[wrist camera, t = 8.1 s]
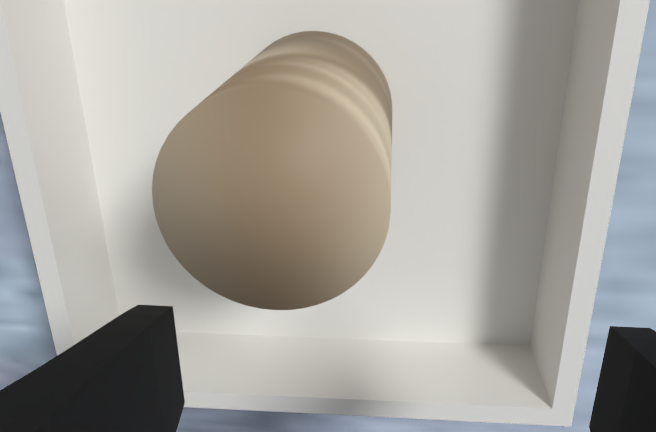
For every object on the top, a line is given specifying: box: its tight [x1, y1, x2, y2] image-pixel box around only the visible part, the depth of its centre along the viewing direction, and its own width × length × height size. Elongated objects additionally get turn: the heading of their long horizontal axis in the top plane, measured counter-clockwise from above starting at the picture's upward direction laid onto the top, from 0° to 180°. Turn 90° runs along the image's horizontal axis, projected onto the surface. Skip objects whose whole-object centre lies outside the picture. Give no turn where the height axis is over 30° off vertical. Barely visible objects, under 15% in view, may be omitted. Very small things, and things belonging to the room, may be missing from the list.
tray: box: [0, 0, 650, 426], centre depth 16 cm, size 15×17×4 cm
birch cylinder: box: [152, 31, 392, 310], centre depth 14 cm, size 4×4×7 cm
